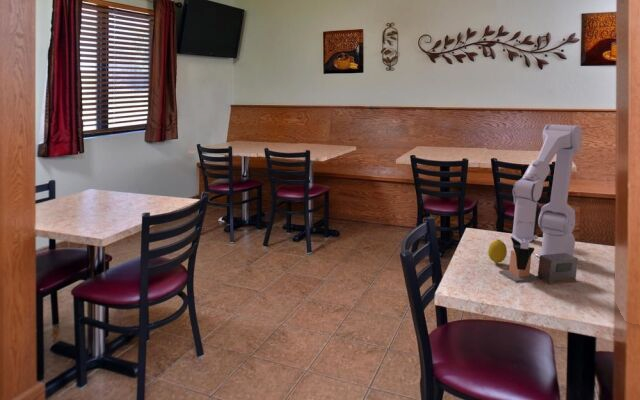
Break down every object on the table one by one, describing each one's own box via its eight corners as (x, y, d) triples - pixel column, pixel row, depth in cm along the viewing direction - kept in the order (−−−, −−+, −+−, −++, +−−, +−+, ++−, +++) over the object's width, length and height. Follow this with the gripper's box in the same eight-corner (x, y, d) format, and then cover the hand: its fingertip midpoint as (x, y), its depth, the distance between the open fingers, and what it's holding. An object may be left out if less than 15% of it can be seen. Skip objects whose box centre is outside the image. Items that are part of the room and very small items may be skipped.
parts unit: (562, 274, 154) (565, 252, 152) (576, 281, 149) (579, 258, 147) (536, 277, 152) (538, 254, 150) (549, 284, 146) (551, 261, 145)
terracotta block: (519, 271, 155) (521, 249, 153) (529, 275, 151) (531, 253, 150) (509, 272, 153) (511, 250, 152) (518, 277, 150) (520, 254, 148)
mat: (522, 270, 157) (522, 268, 157) (539, 279, 150) (539, 277, 150) (499, 272, 155) (499, 270, 155) (515, 282, 148) (515, 280, 148)
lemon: (506, 267, 160) (509, 242, 158) (488, 265, 161) (490, 241, 159) (504, 261, 165) (506, 237, 164) (486, 260, 166) (488, 236, 165)
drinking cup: (512, 237, 192) (517, 184, 188) (531, 236, 193) (537, 184, 188) (521, 243, 185) (527, 189, 180) (542, 242, 185) (547, 188, 181)
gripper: (542, 228, 141) (537, 274, 144) (536, 215, 154) (531, 258, 157) (515, 226, 143) (510, 272, 146) (511, 214, 156) (507, 256, 159)
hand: (520, 265), depth 152 cm, fingers open, 7 cm apart
